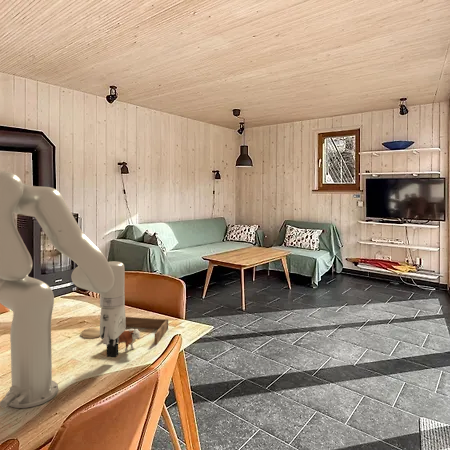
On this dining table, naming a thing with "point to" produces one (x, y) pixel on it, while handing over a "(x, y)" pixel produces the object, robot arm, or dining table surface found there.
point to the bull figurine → (129, 337)
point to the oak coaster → (91, 333)
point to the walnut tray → (149, 325)
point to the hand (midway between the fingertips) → (112, 356)
